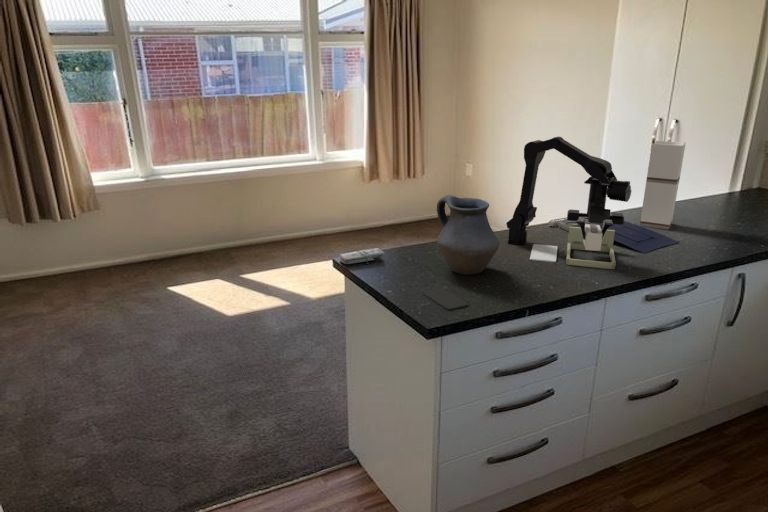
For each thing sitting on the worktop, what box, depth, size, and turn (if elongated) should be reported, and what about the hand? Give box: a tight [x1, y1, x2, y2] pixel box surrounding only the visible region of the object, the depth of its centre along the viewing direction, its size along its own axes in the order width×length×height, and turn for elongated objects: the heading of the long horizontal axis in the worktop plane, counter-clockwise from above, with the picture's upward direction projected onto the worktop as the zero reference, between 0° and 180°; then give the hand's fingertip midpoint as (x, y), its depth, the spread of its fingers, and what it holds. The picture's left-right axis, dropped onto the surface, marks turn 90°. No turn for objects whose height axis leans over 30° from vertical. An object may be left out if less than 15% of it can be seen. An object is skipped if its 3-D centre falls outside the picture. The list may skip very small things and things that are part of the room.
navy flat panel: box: [586, 220, 679, 254], centre depth 229 cm, size 24×30×4 cm
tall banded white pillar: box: [639, 140, 686, 230], centre depth 242 cm, size 11×11×35 cm
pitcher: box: [436, 194, 500, 276], centre depth 191 cm, size 21×22×25 cm
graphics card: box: [547, 217, 580, 232], centre depth 241 cm, size 17×4×12 cm
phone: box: [421, 287, 468, 311], centre depth 171 cm, size 7×1×15 cm
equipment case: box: [565, 227, 617, 270], centre depth 206 cm, size 16×21×8 cm
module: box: [583, 223, 603, 252], centre depth 204 cm, size 5×12×7 cm, turn 165°
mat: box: [529, 243, 559, 263], centre depth 211 cm, size 9×18×1 cm, turn 162°
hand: (592, 240), depth 205 cm, fingers closed on module, 5 cm apart
